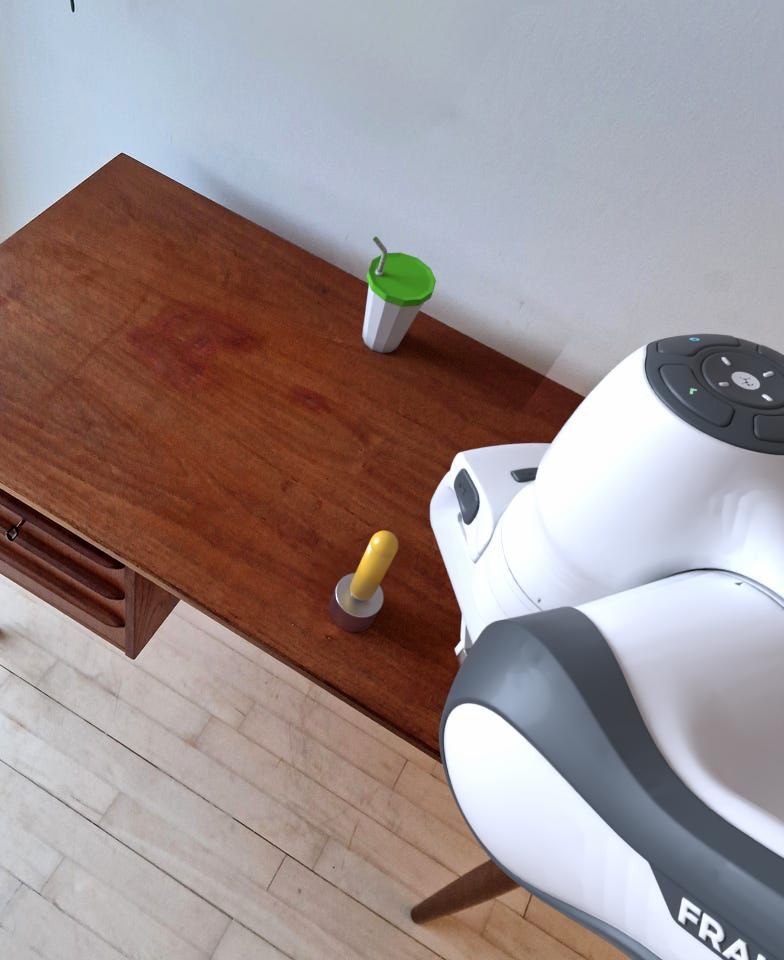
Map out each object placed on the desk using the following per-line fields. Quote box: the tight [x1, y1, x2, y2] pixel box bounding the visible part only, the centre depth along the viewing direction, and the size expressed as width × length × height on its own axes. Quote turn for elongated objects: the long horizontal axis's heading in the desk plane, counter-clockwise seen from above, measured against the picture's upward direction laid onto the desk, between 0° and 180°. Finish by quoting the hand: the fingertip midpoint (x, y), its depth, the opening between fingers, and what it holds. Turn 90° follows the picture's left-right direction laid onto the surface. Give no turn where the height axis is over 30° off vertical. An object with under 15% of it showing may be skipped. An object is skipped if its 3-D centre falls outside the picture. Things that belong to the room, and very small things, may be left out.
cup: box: [361, 236, 437, 354], centre depth 97 cm, size 8×8×15 cm
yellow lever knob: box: [328, 530, 399, 633], centre depth 76 cm, size 5×5×14 cm
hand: (474, 678), depth 54 cm, fingers closed
